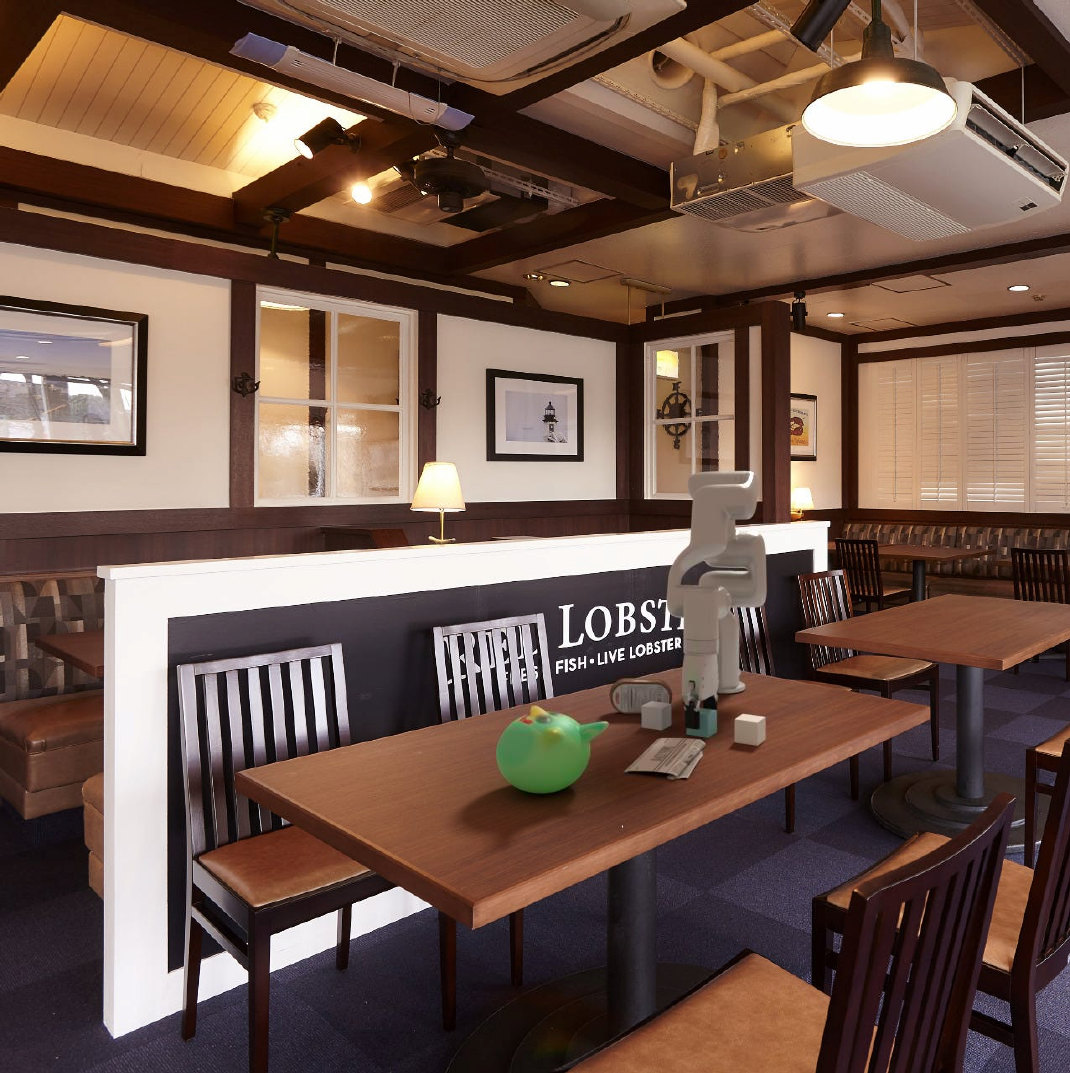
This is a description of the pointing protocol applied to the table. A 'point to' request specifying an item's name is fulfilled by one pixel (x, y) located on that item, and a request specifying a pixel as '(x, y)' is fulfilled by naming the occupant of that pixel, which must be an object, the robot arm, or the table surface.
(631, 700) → the tin
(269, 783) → the table surface
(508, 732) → the toy bird
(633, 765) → the newspaper
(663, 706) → the grey block
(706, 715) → the teal block
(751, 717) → the cream block
